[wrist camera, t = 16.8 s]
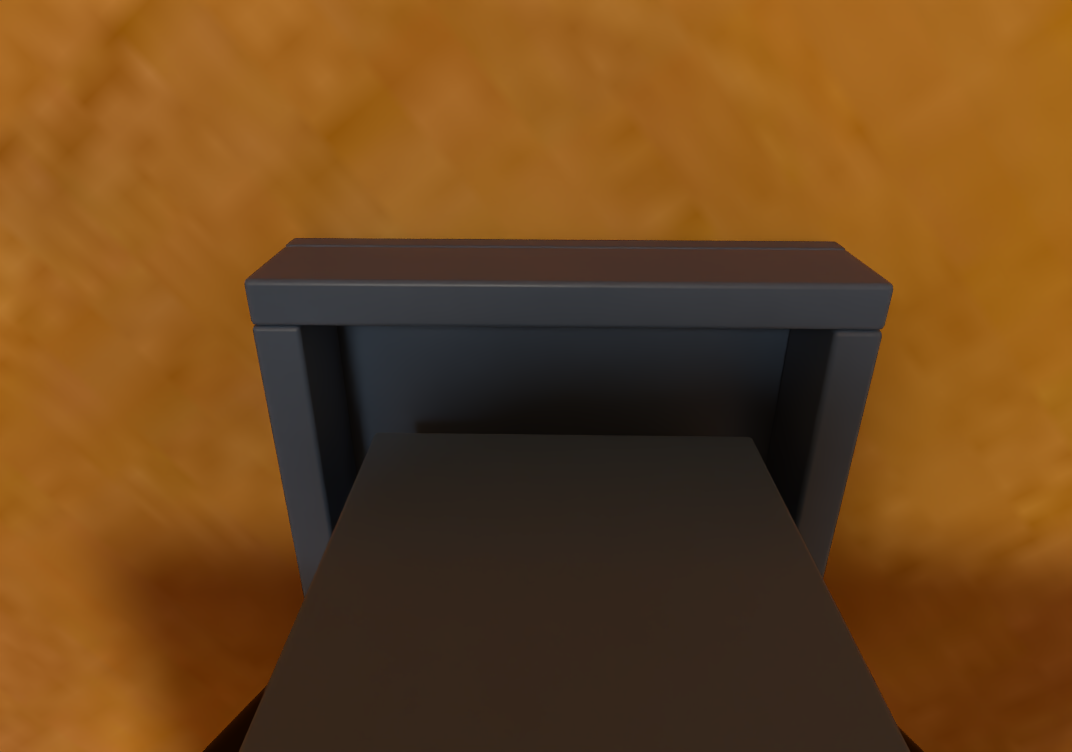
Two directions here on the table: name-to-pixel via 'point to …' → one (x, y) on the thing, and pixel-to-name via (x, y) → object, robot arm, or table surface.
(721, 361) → the blue tray
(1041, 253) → the table surface
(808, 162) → the table surface
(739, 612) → the blue block
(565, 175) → the table surface
